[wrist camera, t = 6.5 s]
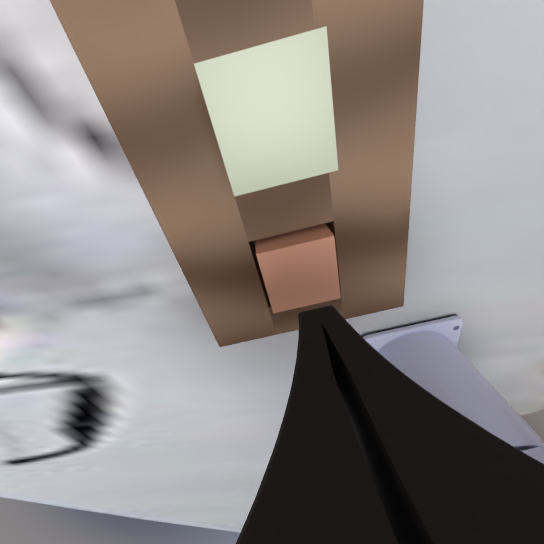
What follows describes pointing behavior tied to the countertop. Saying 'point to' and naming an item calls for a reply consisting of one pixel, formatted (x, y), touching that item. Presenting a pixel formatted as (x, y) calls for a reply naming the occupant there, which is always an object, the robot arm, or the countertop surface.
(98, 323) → the countertop surface
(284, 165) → the sage button
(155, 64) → the button panel
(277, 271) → the terracotta button
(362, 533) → the robot arm
